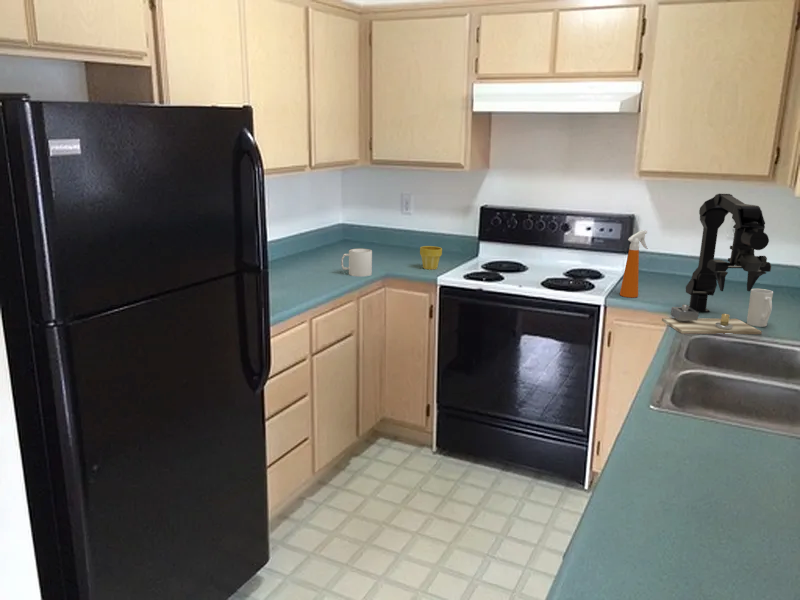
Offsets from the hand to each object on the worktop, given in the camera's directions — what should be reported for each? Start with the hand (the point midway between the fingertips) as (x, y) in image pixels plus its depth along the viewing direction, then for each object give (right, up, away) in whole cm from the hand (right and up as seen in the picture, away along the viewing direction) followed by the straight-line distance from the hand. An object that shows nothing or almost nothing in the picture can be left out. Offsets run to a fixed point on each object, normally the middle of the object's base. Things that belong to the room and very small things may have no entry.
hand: (735, 291), depth 217 cm
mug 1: (-129, +9, +77) cm, 151 cm away
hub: (-2, -12, +3) cm, 13 cm away
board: (-5, -12, +7) cm, 15 cm away
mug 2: (+14, -12, +10) cm, 21 cm away
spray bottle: (-16, -1, +49) cm, 52 cm away
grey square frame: (-12, -9, +10) cm, 19 cm away
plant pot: (-96, +12, +93) cm, 134 cm away
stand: (-12, -11, +11) cm, 20 cm away
